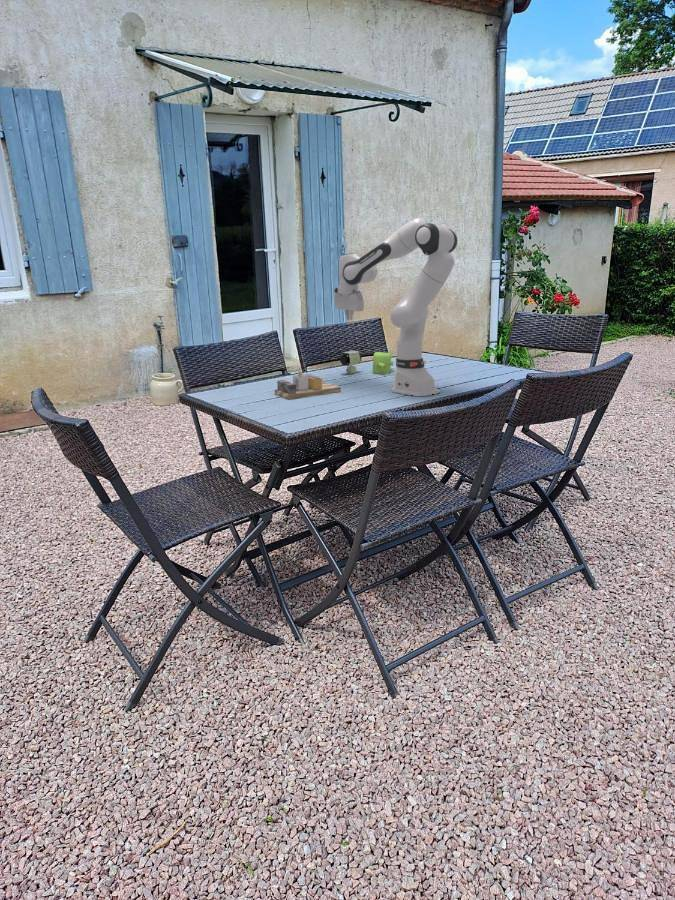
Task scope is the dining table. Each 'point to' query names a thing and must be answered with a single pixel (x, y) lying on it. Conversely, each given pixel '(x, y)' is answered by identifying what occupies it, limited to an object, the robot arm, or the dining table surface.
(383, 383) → the dining table surface
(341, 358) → the pneumatic valve
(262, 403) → the dining table surface
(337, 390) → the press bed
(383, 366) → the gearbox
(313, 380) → the yellow orange block
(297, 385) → the housing
